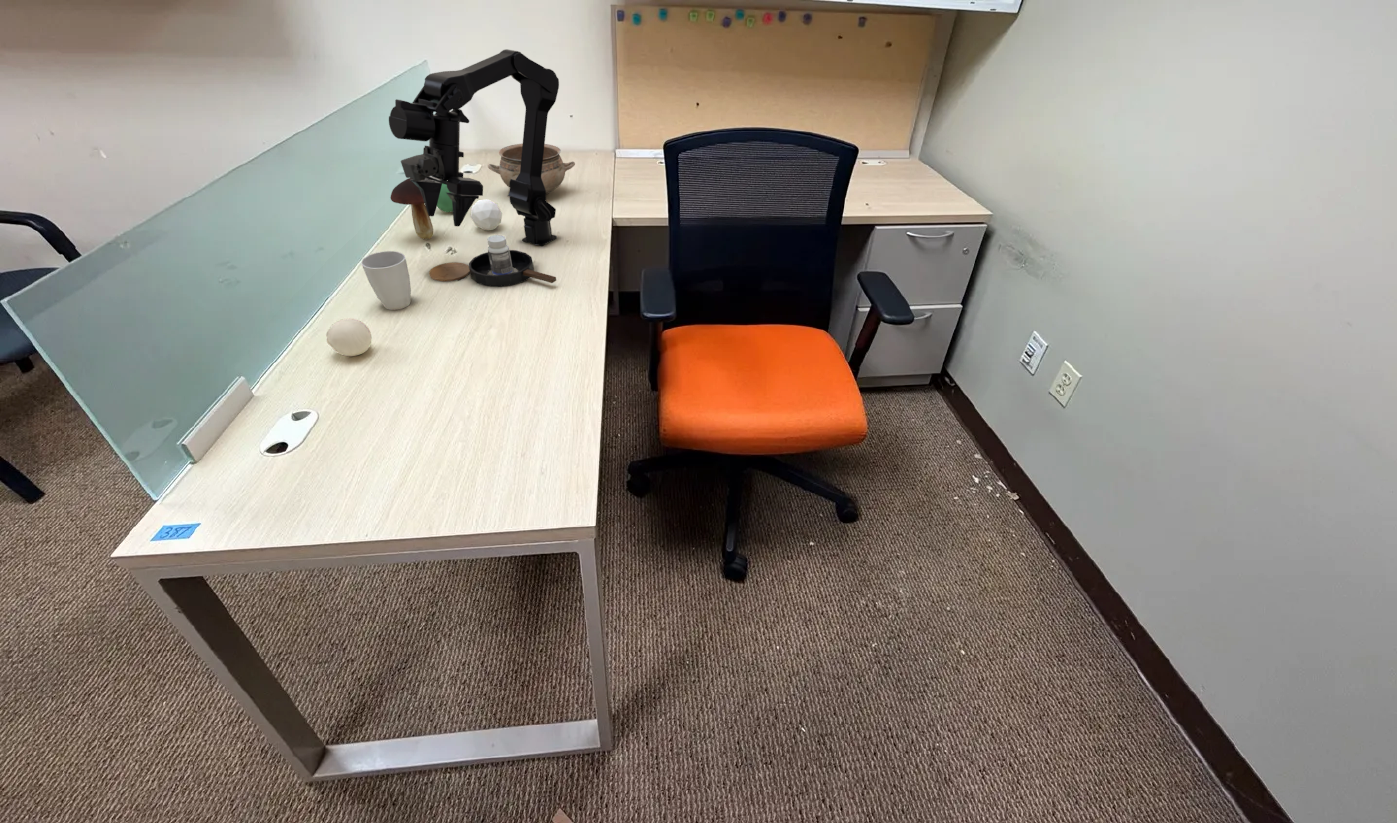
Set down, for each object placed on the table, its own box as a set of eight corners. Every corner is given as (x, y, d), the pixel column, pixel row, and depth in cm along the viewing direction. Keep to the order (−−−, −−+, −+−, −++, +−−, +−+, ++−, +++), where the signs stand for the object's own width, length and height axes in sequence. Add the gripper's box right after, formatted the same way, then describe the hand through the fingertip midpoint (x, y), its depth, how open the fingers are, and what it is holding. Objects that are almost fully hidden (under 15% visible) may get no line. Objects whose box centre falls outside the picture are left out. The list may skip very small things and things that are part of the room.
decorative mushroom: (434, 249, 148) (418, 187, 138) (394, 244, 149) (375, 182, 140) (457, 232, 156) (443, 173, 147) (418, 228, 158) (403, 169, 148)
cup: (426, 299, 128) (413, 254, 122) (399, 316, 122) (385, 271, 115) (395, 292, 130) (381, 248, 123) (367, 309, 124) (351, 263, 117)
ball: (487, 241, 159) (467, 223, 152) (481, 221, 162) (461, 202, 155) (511, 226, 158) (491, 207, 150) (504, 206, 161) (485, 187, 154)
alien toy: (462, 205, 171) (454, 169, 165) (463, 214, 166) (455, 178, 159) (436, 207, 169) (427, 171, 163) (436, 217, 164) (426, 179, 158)
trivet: (450, 261, 143) (449, 259, 142) (479, 269, 140) (478, 267, 139) (420, 275, 136) (420, 273, 136) (450, 284, 133) (449, 282, 133)
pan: (500, 255, 146) (498, 245, 144) (573, 275, 139) (572, 265, 137) (457, 277, 136) (455, 266, 134) (535, 300, 129) (533, 289, 127)
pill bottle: (494, 268, 140) (487, 233, 135) (514, 268, 141) (508, 233, 135) (490, 277, 137) (483, 242, 131) (511, 277, 137) (505, 242, 132)
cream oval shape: (344, 342, 114) (331, 311, 110) (382, 343, 114) (371, 312, 109) (325, 361, 108) (312, 329, 104) (365, 363, 108) (353, 331, 104)
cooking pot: (575, 182, 190) (572, 141, 183) (579, 202, 176) (575, 159, 168) (494, 184, 186) (487, 143, 178) (491, 206, 171) (483, 162, 164)
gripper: (380, 131, 121) (383, 210, 127) (436, 148, 112) (435, 232, 119) (431, 137, 130) (431, 211, 136) (486, 153, 121) (483, 231, 128)
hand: (443, 221), depth 129 cm, fingers open, 9 cm apart
